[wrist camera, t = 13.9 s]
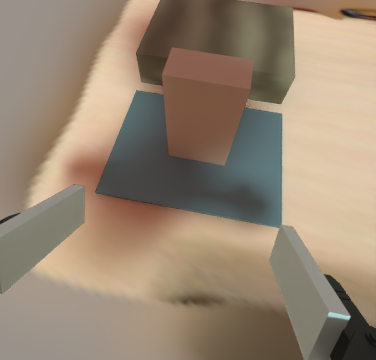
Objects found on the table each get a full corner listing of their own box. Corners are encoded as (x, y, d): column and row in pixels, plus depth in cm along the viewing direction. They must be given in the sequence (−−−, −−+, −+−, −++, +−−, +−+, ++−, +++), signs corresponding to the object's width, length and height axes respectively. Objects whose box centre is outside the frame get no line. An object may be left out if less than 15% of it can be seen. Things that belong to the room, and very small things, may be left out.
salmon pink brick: (227, 142, 25) (253, 59, 16) (224, 165, 24) (250, 89, 15) (175, 133, 26) (171, 47, 17) (168, 155, 24) (161, 74, 15)
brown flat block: (281, 37, 35) (292, 7, 31) (280, 104, 29) (295, 77, 25) (166, 20, 36) (164, -10, 32) (141, 82, 30) (136, 53, 26)
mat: (280, 116, 28) (282, 113, 28) (279, 228, 22) (281, 226, 21) (137, 92, 29) (136, 90, 29) (96, 193, 23) (95, 191, 22)
